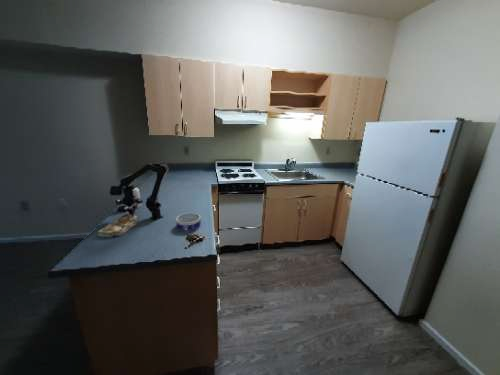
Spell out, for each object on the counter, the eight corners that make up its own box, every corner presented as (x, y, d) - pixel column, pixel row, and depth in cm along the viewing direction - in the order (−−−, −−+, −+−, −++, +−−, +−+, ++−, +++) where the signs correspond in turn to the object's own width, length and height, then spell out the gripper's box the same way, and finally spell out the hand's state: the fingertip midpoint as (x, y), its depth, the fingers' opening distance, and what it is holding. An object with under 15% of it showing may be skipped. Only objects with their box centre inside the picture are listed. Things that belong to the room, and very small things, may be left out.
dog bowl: (176, 232, 131) (175, 224, 130) (177, 221, 145) (176, 213, 144) (201, 230, 136) (201, 221, 134) (200, 219, 150) (199, 211, 148)
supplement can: (130, 205, 170) (127, 187, 165) (141, 204, 173) (139, 186, 168) (128, 209, 162) (125, 190, 158) (140, 208, 165) (138, 189, 161)
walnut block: (126, 219, 146) (125, 214, 144) (132, 219, 145) (131, 214, 144) (120, 223, 140) (119, 217, 139) (126, 223, 140) (125, 218, 138)
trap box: (126, 218, 148) (125, 214, 147) (142, 219, 147) (141, 215, 146) (98, 236, 125) (97, 231, 124) (117, 238, 124) (116, 233, 123)
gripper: (127, 190, 153) (130, 210, 158) (107, 199, 135) (111, 221, 140) (141, 191, 152) (144, 211, 156) (123, 200, 134) (127, 222, 139)
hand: (132, 216), depth 148 cm, fingers closed
